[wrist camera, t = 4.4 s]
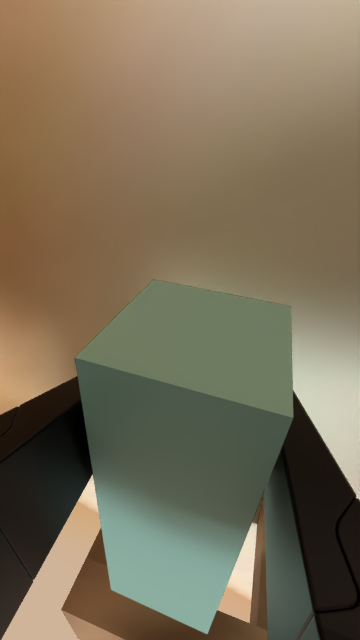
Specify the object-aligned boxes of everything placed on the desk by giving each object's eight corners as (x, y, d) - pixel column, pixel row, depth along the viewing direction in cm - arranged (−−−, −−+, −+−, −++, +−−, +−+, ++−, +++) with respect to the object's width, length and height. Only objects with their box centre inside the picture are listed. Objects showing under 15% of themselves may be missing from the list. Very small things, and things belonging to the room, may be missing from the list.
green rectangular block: (290, 306, 8) (293, 417, 5) (225, 521, 14) (207, 634, 11) (153, 279, 9) (74, 357, 6) (149, 493, 15) (110, 590, 12)
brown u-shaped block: (297, 499, 17) (304, 724, 10) (285, 534, 19) (285, 740, 12) (136, 454, 20) (61, 609, 13) (141, 488, 22) (78, 638, 15)
